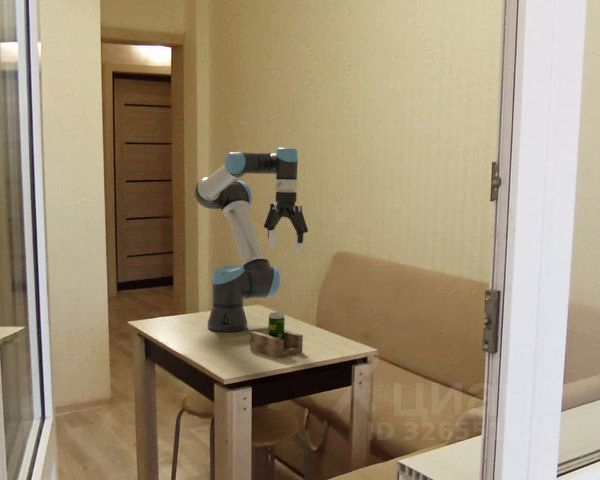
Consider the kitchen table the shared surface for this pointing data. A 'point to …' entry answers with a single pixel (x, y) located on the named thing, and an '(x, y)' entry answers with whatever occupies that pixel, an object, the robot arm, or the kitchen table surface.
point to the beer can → (276, 325)
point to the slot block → (276, 344)
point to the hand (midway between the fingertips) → (284, 250)
